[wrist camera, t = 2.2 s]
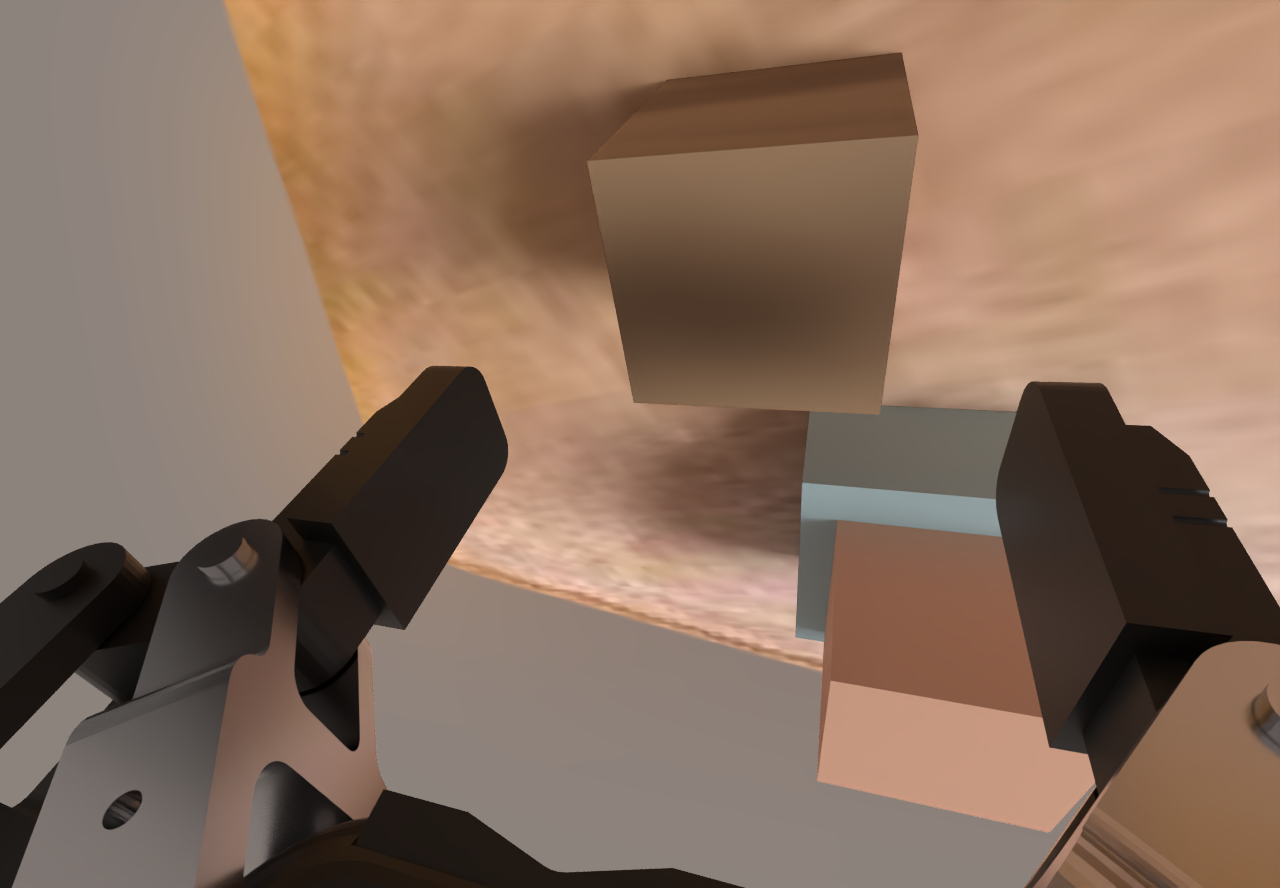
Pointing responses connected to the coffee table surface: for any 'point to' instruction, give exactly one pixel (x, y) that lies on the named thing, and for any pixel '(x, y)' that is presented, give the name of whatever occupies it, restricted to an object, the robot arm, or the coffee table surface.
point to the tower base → (893, 483)
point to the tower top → (936, 680)
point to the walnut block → (760, 234)
